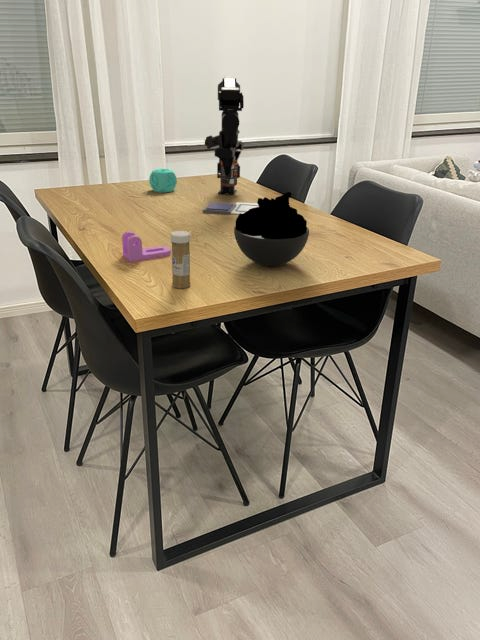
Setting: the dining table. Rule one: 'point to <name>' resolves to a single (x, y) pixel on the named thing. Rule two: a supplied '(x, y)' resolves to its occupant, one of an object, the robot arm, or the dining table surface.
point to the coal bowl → (271, 231)
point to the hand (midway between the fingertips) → (229, 173)
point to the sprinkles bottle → (180, 259)
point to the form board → (243, 207)
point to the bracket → (140, 248)
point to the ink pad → (219, 208)
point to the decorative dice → (163, 180)
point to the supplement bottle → (232, 177)
